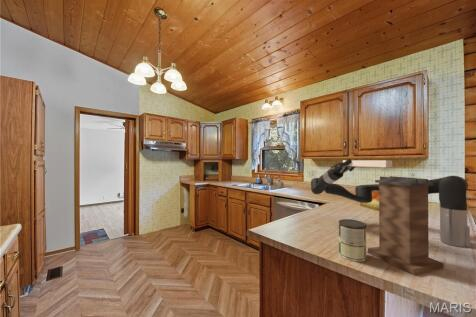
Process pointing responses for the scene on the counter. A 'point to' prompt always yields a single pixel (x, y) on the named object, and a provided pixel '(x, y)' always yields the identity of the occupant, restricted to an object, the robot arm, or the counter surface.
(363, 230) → the coffee can
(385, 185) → the stand
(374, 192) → the bread
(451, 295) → the counter surface
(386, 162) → the slat
